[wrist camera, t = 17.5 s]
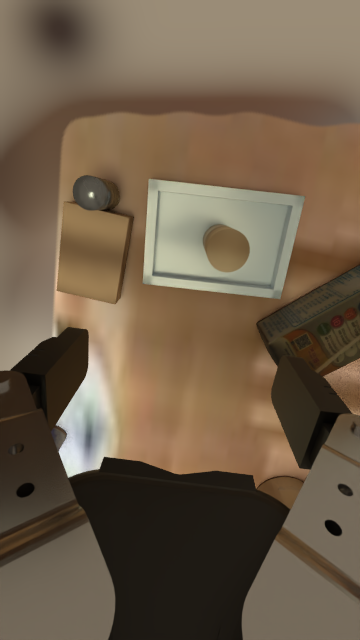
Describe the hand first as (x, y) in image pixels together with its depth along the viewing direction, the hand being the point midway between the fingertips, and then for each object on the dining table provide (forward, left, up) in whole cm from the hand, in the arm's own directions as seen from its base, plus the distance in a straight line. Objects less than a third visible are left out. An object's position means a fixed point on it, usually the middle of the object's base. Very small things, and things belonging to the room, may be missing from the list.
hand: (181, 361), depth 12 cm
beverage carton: (-4, -19, -25) cm, 32 cm away
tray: (+3, -3, -25) cm, 25 cm away
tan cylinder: (+3, -3, -24) cm, 24 cm away
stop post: (+6, +10, -25) cm, 27 cm away
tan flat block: (0, +11, -25) cm, 27 cm away
